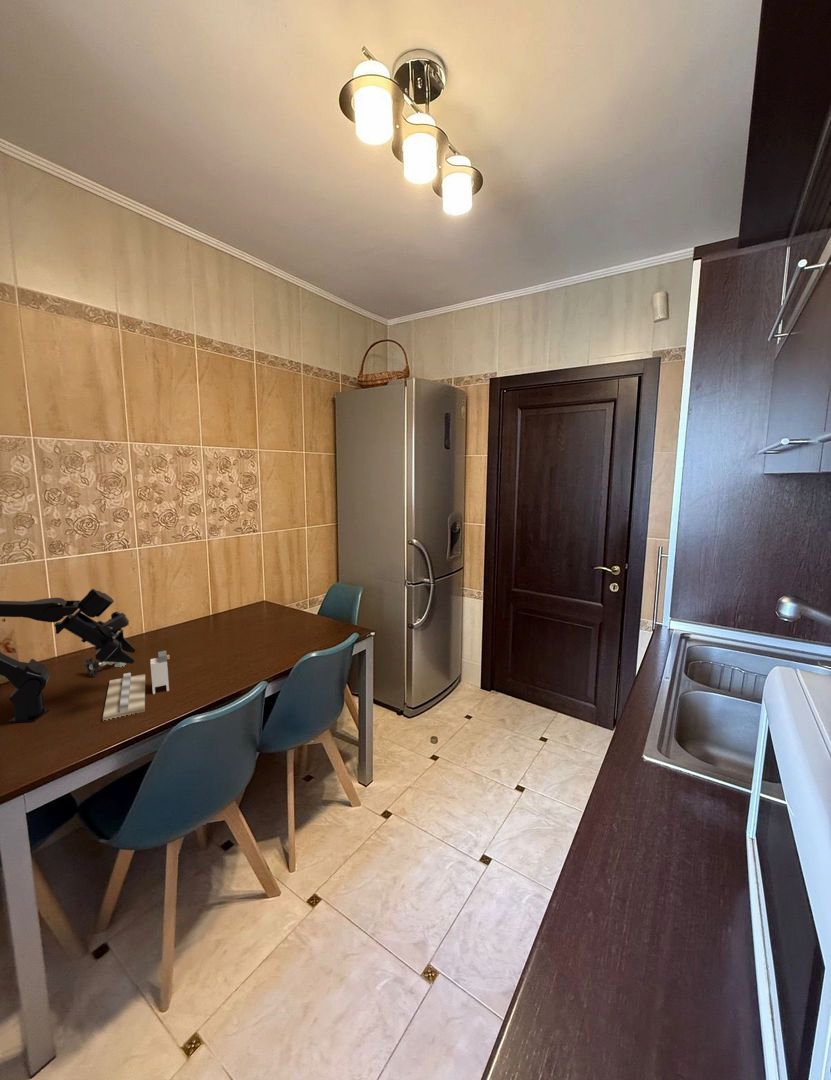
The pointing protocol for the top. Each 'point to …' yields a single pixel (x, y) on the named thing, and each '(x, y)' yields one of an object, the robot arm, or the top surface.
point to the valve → (96, 665)
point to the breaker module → (160, 671)
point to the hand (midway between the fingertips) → (134, 656)
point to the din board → (117, 696)
